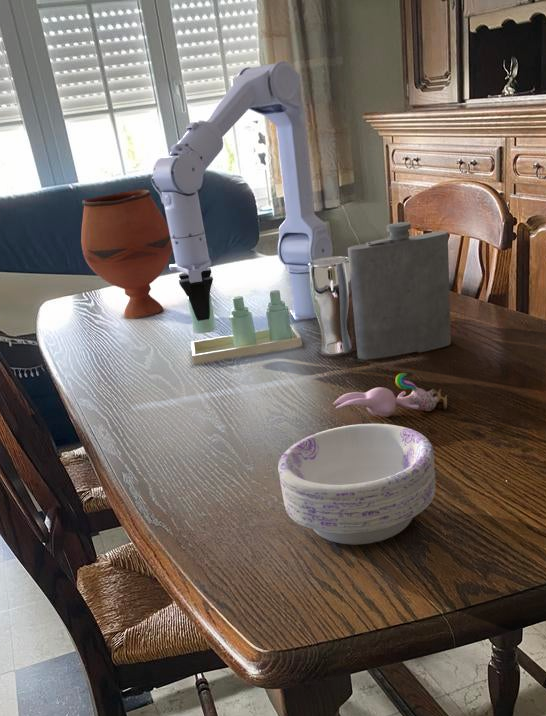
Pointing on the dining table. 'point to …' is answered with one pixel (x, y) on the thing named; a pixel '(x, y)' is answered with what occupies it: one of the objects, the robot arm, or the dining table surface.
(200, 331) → the loose bottle
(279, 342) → the tray
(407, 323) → the hip flask
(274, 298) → the bottle
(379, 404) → the rabbit figure
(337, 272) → the beer glass
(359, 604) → the dining table surface
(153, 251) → the goblet
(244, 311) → the bottle
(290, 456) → the paper bowls
